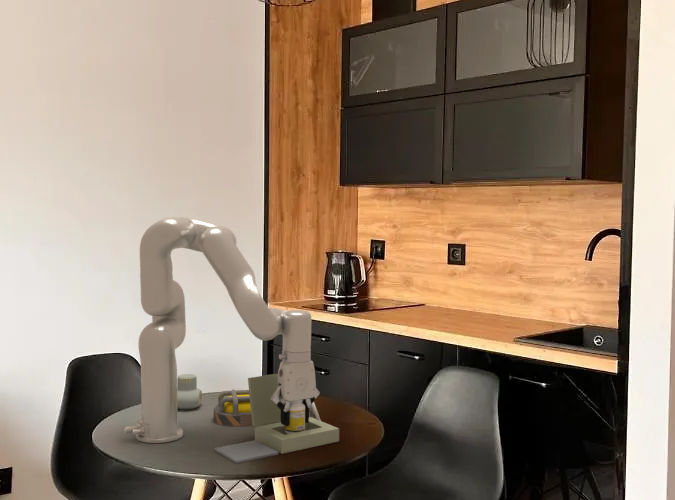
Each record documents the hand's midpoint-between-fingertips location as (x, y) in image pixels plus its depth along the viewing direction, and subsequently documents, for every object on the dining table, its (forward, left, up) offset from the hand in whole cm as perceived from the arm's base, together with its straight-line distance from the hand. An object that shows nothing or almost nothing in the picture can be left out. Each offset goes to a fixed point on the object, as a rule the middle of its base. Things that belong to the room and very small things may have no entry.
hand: (294, 422), depth 199 cm
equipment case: (+1, +2, -5) cm, 5 cm away
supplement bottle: (0, 0, -3) cm, 3 cm away
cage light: (+4, +24, -5) cm, 25 cm away
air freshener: (-10, +48, -5) cm, 49 cm away
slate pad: (-16, -1, -5) cm, 16 cm away
